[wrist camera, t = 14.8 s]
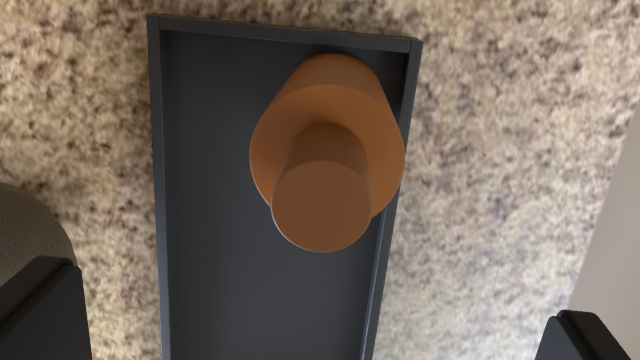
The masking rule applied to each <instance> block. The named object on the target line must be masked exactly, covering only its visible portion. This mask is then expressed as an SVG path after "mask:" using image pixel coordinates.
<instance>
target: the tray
mask: <svg viewBox="0 0 640 360" xmlns="http://www.w3.org/2000/svg"><path fill="white" fill-rule="evenodd" d="M147 34H148V57H149V80H150V102H151V125H152V148H153V170H154V193H155V215H156V238H157V261H158V283H159V306H160V329H161V351H162V360H372V357H373V351H374V345H375V338H376V332H377V326H378V320H379V314H380V308H381V301H382V295H383V289H384V283H385V277H386V271H387V264H388V258H389V252H390V246H391V240H392V234H393V227H394V221H395V215H396V209H397V203H398V197H399V190H400V185H399V187H398V189H397V191H396V193H395V195H394V196H393V198H392V199H391V200H390V202H389V203H388V204H387V205H386V206H385V207H384V208H383V209H382V210H381V211H380V212H379V213H378V214H376V215H375V216H374V217H372V218H371V221H370V223H369V225H368V227H367V229H366V231H365V232H364V233H363V235H362V236H361V237H360V238H359V239H358V240H356V241H355V242H354V243H352V244H351V245H349V246H347V247H345V248H343V249H340V250H337V251H332V252H313V251H309V250H305V249H302V248H300V247H298V246H296V245H294V244H293V243H291V242H290V241H289V240H287V239H286V238H285V237H284V236H283V235H282V233H281V232H280V231H279V229H278V228H277V226H276V224H275V222H274V220H273V217H272V213H271V207H270V206H269V205H268V203H267V202H266V201H265V200H264V199H263V197H262V195H261V194H260V192H259V191H258V189H257V187H256V184H255V182H254V179H253V176H252V173H251V168H250V156H249V153H250V144H251V140H252V136H253V133H254V130H255V128H256V125H257V123H258V122H259V120H260V118H261V117H262V115H263V114H264V112H265V111H266V109H267V108H268V107H269V105H270V104H271V102H272V101H273V99H274V98H275V97H276V95H277V94H278V92H279V91H280V89H281V88H282V87H283V85H284V84H285V82H286V81H287V79H288V78H289V77H290V75H291V74H292V72H293V71H294V70H295V68H296V67H297V66H298V65H299V64H300V63H302V62H303V61H304V60H306V59H307V58H309V57H311V56H313V55H315V54H318V53H321V52H326V51H341V52H346V53H349V54H352V55H354V56H356V57H358V58H360V59H361V60H363V61H364V62H365V63H367V64H368V65H369V66H370V67H371V69H372V70H373V71H374V73H375V74H376V75H377V77H378V79H379V82H380V84H381V86H382V89H383V91H384V94H385V96H386V98H387V101H388V103H389V106H390V108H391V111H392V113H393V115H394V118H395V120H396V123H397V125H398V128H399V130H400V133H401V136H402V139H403V143H404V149H405V153H406V147H407V141H408V135H409V129H410V122H411V116H412V110H413V104H414V98H415V92H416V85H417V79H418V73H419V67H420V61H421V55H422V48H423V42H422V41H421V40H419V39H417V38H408V37H398V36H387V35H377V34H366V33H356V32H345V31H335V30H324V29H314V28H303V27H293V26H282V25H272V24H261V23H251V22H240V21H230V20H219V19H209V18H198V17H188V16H177V15H167V14H156V15H147ZM400 184H401V182H400Z"/></svg>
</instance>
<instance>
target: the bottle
mask: <svg viewBox="0 0 640 360" xmlns="http://www.w3.org/2000/svg"><path fill="white" fill-rule="evenodd" d="M249 156H250V168H251V173H252V176H253V179H254V182H255V184H256V187H257V189H258V191H259V192H260V194H261V195H262V197H263V199H264V200H265V201H266V202H267V203H268V205H269V206H270V207H271V213H272V217H273V220H274V222H275V224H276V226H277V228H278V229H279V231H280V232H281V233H282V235H283V236H284V237H285V238H286V239H287V240H289V241H290V242H291V243H293V244H294V245H296V246H298V247H300V248H302V249H305V250H309V251H313V252H332V251H337V250H340V249H343V248H345V247H347V246H349V245H351V244H352V243H354V242H355V241H356V240H358V239H359V238H360V237H361V236H362V235H363V233H364V232H365V231H366V229H367V227H368V225H369V223H370V221H371V218H372V217H374V216H375V215H376V214H378V213H379V212H380V211H381V210H382V209H383V208H384V207H385V206H386V205H387V204H388V203H389V202H390V200H391V199H392V198H393V196H394V195H395V193H396V191H397V189H398V187H399V185H400V182H401V180H402V176H403V172H404V166H405V149H404V143H403V139H402V136H401V133H400V130H399V128H398V125H397V123H396V120H395V118H394V115H393V113H392V111H391V108H390V106H389V103H388V101H387V98H386V96H385V94H384V91H383V89H382V86H381V84H380V82H379V79H378V77H377V75H376V74H375V73H374V71H373V70H372V69H371V67H370V66H369V65H368V64H367V63H365V62H364V61H363V60H361V59H360V58H358V57H356V56H354V55H352V54H349V53H346V52H341V51H326V52H321V53H318V54H315V55H313V56H311V57H309V58H307V59H306V60H304V61H303V62H302V63H300V64H299V65H298V66H297V67H296V68H295V70H294V71H293V72H292V74H291V75H290V77H289V78H288V79H287V81H286V82H285V84H284V85H283V87H282V88H281V89H280V91H279V92H278V94H277V95H276V97H275V98H274V99H273V101H272V102H271V104H270V105H269V107H268V108H267V109H266V111H265V112H264V114H263V115H262V117H261V118H260V120H259V122H258V123H257V125H256V128H255V130H254V133H253V136H252V140H251V144H250V153H249Z"/></svg>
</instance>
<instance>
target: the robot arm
mask: <svg viewBox="0 0 640 360" xmlns="http://www.w3.org/2000/svg"><path fill="white" fill-rule="evenodd" d="M0 360H92V353H91V345H90V337H89V329H88V321H87V313H86V305H85V297H84V289H83V281H82V273H81V270H80V268H79V267H77V266H74V263H73V262H72V260H71V259H69V258H64V257H54V256H45V255H40V256H37V257H35V258H33V259H32V260H31V261H30V262H29V263H28V264H26V265H25V266H24V267H23V268H22V269H21V270H19V271H18V272H17V273H16V274H15V275H14V276H12V277H11V278H10V279H9V280H8V281H7V282H5V283H4V284H3V285H2V286H1V287H0ZM535 360H631V359H630V357H629V356H628V355H627V354H626V352H625V351H624V350H623V348H622V347H621V346H620V345H619V343H618V342H617V340H616V339H615V338H614V337H613V335H612V334H611V333H610V331H609V330H608V329H607V327H606V326H605V325H604V324H603V322H602V321H601V320H600V318H599V317H598V316H597V315H596V314H594V313H591V312H582V311H572V310H561V311H560V312H559V313H558V314H557V316H552V317H550V318H549V320H548V322H547V324H546V327H545V330H544V333H543V336H542V339H541V342H540V345H539V348H538V351H537V354H536V357H535Z"/></svg>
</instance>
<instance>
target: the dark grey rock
mask: <svg viewBox="0 0 640 360" xmlns="http://www.w3.org/2000/svg"><path fill="white" fill-rule="evenodd" d="M40 255H45V256H54V257H64V258H69V259H71V260H72V262H73V263H74V266H77V267H78V264H77V260H76V257H75V254H74V252H73V248H72V244H71V242H70V239H69V238H68V236H67V234H66V232H65V231H64V229H63V228H62V227H61V225H60V224H59V222H58V221H57V219H56V218H55V217H54V215H53V214H52V213H51V212H50V211H49V210H48V209H47V208H46V207H45V206H44V205H43V204H41V203H40V202H39V201H38V200H37V199H35V198H34V197H33V196H31V195H30V194H28V193H26V192H25V191H23V190H21V189H19V188H17V187H15V186H13V185H10V184H8V183H4V182H1V181H0V287H1V286H2V285H3V284H4V283H5V282H7V281H8V280H9V279H10V278H11V277H12V276H14V275H15V274H16V273H17V272H18V271H19V270H21V269H22V268H23V267H24V266H25V265H26V264H28V263H29V262H30V261H31V260H32V259H33V258H35V257H37V256H40Z"/></svg>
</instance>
